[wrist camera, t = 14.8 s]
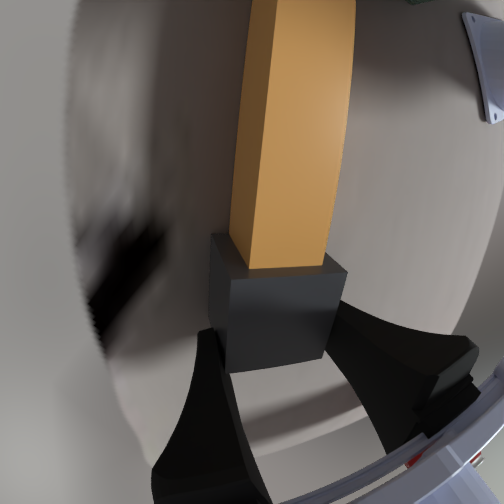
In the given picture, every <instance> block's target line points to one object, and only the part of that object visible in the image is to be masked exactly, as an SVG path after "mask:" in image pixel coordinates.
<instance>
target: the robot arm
mask: <svg viewBox="0 0 504 504" xmlns="http://www.w3.org/2000/svg"><path fill="white" fill-rule="evenodd" d="M462 18H463V21H464V24H465V27H466V30H467V33H468V36H469V40H470V43H471V47H472V50H473V54H474V58H475V62H476V66H477V70H478V75H479V79H480V84H481V90H482V95H483V101H484V108H485V115H486V120H487V122H488V123H489V124H495V123H497V122H499V121H502V120H504V21H501V20H498V19H494V18H491V17H487V16H483V15H478V14H474V13H469V12H463V13H462ZM325 351H326V352H327V353H328V355H329V356H330V357H331V359H332V360H333V361H334V363H335V364H336V365H337V367H338V368H339V369H340V371H341V372H342V373H343V375H344V376H345V377H346V379H347V380H348V381H349V383H350V384H351V386H352V387H353V389H354V391H355V392H356V394H357V396H358V398H359V399H360V401H361V403H362V405H363V407H364V408H365V410H366V412H367V414H368V416H369V418H370V420H371V422H372V424H373V426H374V428H375V430H376V432H377V434H378V436H379V438H380V441H381V443H382V445H383V447H384V449H385V452H386V454H387V455H386V456H385V457H383V458H381V459H379V460H377V461H376V462H374V463H372V464H370V465H368V466H366V467H365V468H363V469H361V470H359V471H357V472H355V473H353V474H351V475H349V476H347V477H345V478H342V479H340V480H339V481H336V482H334V483H331V484H329V485H327V486H325V487H322V488H320V489H318V490H315V491H312V492H310V493H307V494H305V495H302V496H299V497H297V498H294V499H291V500H288V501H285V502H283V503H280V504H329V503H332V502H334V501H336V500H339V499H341V498H343V497H345V496H347V495H349V494H351V493H354V492H356V491H357V490H360V489H361V488H363V487H365V486H367V485H369V484H371V483H373V482H375V481H376V480H378V479H380V478H382V477H383V476H385V475H387V474H389V473H390V472H392V471H394V470H395V469H397V468H398V467H400V466H402V465H403V464H405V463H406V462H408V461H409V460H411V459H412V458H414V457H415V456H417V455H418V454H420V453H421V452H423V451H424V450H425V449H427V448H428V447H429V448H428V449H427V450H426V451H424V452H423V454H422V456H421V457H420V458H419V460H418V461H417V462H416V463H415V464H414V465H413V466H411V467H410V468H408V469H407V470H405V471H404V472H402V473H401V474H399V475H397V476H395V477H394V478H392V479H391V480H389V481H387V482H385V483H384V484H382V485H380V486H379V487H377V488H375V489H373V490H372V491H370V492H368V493H366V494H364V495H362V496H361V497H358V498H357V499H355V500H353V501H351V502H349V503H347V504H501V503H500V502H499V500H498V499H497V498H496V496H495V495H494V493H493V492H492V491H491V490H490V488H489V487H488V486H487V484H486V483H485V482H484V480H483V479H482V478H481V476H480V475H479V474H478V473H477V471H476V470H475V469H474V467H473V466H472V465H471V463H470V462H469V461H470V460H471V459H472V458H473V457H474V456H476V455H477V454H478V453H479V452H480V451H481V450H482V449H483V448H484V447H485V446H486V445H487V444H488V442H489V441H491V440H492V438H493V437H494V436H495V435H496V434H497V433H498V432H499V431H500V430H501V429H502V427H503V426H504V357H503V358H502V359H501V360H500V362H499V363H498V364H497V366H496V368H495V370H494V372H493V373H492V374H491V375H490V376H489V377H488V378H487V379H486V380H485V381H484V382H483V383H482V384H481V385H480V386H479V387H478V388H477V387H475V386H474V384H473V383H472V381H473V377H472V376H471V375H470V374H469V373H470V371H471V369H472V367H473V365H474V363H475V362H476V360H477V357H478V355H479V347H477V346H476V345H475V344H474V343H473V342H472V341H471V340H470V339H469V338H468V337H466V336H459V335H443V334H435V333H428V332H423V331H418V330H414V329H410V328H406V327H402V326H399V325H396V324H393V323H390V322H387V321H384V320H382V319H379V318H377V317H375V316H372V315H370V314H368V313H365V312H363V311H361V310H359V309H357V308H355V307H353V306H351V305H349V304H347V303H345V302H344V301H342V300H340V302H339V306H338V309H337V312H336V316H335V319H334V322H333V326H332V329H331V332H330V335H329V338H328V341H327V344H326V347H325ZM432 444H433V445H432ZM431 445H432V446H431ZM151 489H152V495H153V500H154V504H273V503H272V500H271V498H270V496H269V494H268V491H267V489H266V487H265V484H264V482H263V479H262V477H261V475H260V472H259V470H258V467H257V464H256V462H255V459H254V457H253V454H252V451H251V449H250V446H249V444H248V441H247V438H246V435H245V433H244V430H243V426H242V423H241V419H240V415H239V411H238V407H237V402H236V398H235V394H234V389H233V385H232V380H231V377H230V374H226V373H225V370H224V366H223V361H222V356H221V352H220V347H219V344H218V341H217V337H216V334H215V331H214V328H213V327H212V328H209V329H205V330H202V331H199V332H198V334H197V352H196V360H195V366H194V372H193V376H192V380H191V385H190V389H189V392H188V396H187V399H186V402H185V405H184V408H183V411H182V413H181V416H180V418H179V421H178V423H177V425H176V428H175V430H174V432H173V434H172V436H171V438H170V440H169V442H168V444H167V446H166V447H165V449H164V451H163V452H162V454H161V456H160V457H159V459H158V460H157V462H156V463H155V465H154V466H153V468H152V475H151Z"/></svg>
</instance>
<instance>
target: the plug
mask: <svg viewBox="0 0 504 504" xmlns="http://www.w3.org/2000/svg"><path fill="white" fill-rule="evenodd" d="M355 13H356V0H252V7H251V14H250V22H249V30H248V39H247V47H246V55H245V64H244V73H243V82H242V91H241V101H240V111H239V121H238V131H237V141H236V152H235V163H234V175H233V186H232V199H231V211H230V224H229V234H211V253H210V279H209V315H208V316H209V320H210V324H211V328H212V327H213V328H214V331H215V334H216V337H217V341H218V344H219V347H220V352H221V356H222V361H223V366H224V370H225V373H226V374H229V373H237V372H245V371H252V370H259V369H266V368H272V367H278V366H284V365H290V364H295V363H301V362H306V361H311V360H316V359H321V358H322V356H323V353H324V350H325V347H326V344H327V341H328V338H329V335H330V332H331V329H332V326H333V322H334V319H335V316H336V312H337V309H338V306H339V302H340V299H341V295H342V292H343V288H344V285H345V281H346V277H347V273H348V272H347V271H346V270H345V269H344V268H343V267H341V266H340V265H339V264H338V263H337V262H336V261H335V260H334V259H332V258H331V257H330V256H329V255H328V254H327V253H326V252H325V249H326V245H327V240H328V235H329V230H330V224H331V219H332V214H333V208H334V203H335V197H336V191H337V185H338V179H339V173H340V167H341V160H342V153H343V146H344V139H345V132H346V124H347V116H348V107H349V98H350V88H351V77H352V65H353V52H354V36H355Z"/></svg>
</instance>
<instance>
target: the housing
mask: <svg viewBox="0 0 504 504" xmlns="http://www.w3.org/2000/svg"><path fill="white" fill-rule="evenodd" d="M405 1H407V2H408V3H410V4H411V5H415V4H419V3H424V2H428V1H433V0H405Z"/></svg>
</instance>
